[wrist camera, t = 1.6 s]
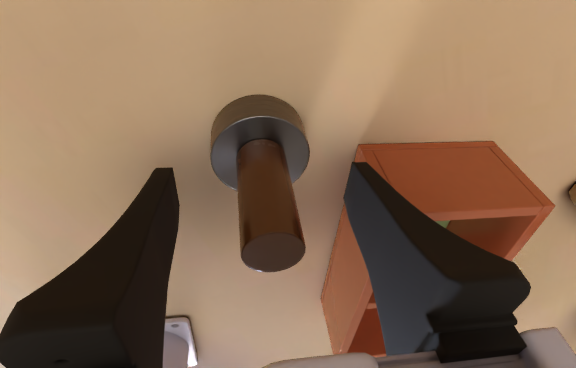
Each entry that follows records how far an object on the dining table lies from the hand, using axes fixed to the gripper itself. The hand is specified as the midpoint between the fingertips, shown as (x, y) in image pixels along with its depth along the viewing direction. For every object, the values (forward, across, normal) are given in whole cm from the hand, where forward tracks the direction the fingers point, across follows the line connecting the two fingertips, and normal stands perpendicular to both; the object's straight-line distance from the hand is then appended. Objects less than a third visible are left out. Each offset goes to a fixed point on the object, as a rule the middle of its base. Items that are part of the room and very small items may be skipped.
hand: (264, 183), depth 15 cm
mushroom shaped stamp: (+3, 0, 0) cm, 4 cm away
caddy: (+3, -9, +8) cm, 13 cm away
